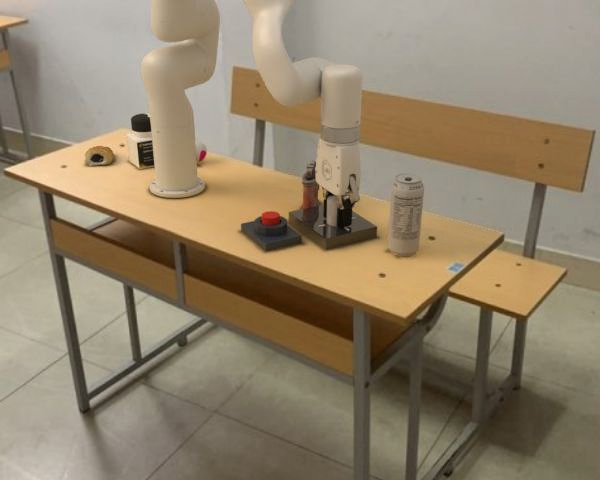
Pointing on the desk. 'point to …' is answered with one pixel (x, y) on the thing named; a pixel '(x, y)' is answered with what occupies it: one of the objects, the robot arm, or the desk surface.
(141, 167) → the medicine bottle
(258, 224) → the control block
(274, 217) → the power button
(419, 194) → the energy drink can
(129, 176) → the desk surface
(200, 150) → the stress ball
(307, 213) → the grey dial base plate
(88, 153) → the pastry
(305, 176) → the lighter
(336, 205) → the knob
